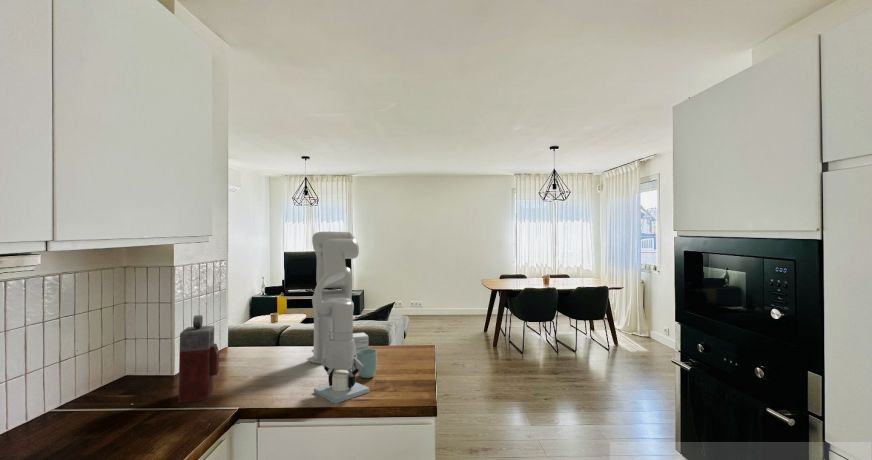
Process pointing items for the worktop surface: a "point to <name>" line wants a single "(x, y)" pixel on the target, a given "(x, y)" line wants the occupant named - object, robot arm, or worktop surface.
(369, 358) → the cup
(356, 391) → the stud plate
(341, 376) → the cap
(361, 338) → the supplement box
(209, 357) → the red grey canister
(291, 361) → the worktop surface
